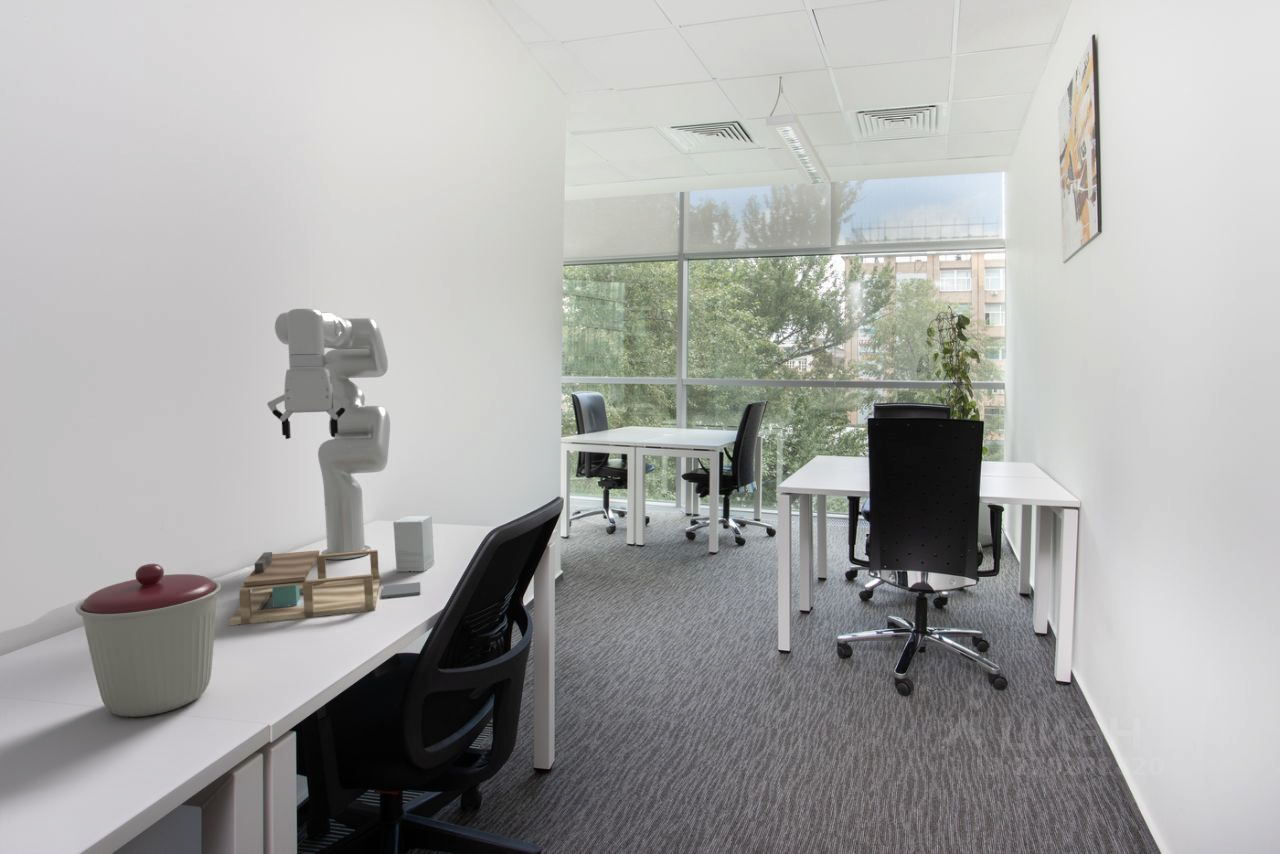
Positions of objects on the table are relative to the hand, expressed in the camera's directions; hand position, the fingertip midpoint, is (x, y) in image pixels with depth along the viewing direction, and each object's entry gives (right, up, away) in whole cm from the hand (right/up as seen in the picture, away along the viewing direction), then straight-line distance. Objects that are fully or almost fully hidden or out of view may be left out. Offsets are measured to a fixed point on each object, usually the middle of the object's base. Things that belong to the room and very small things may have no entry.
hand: (310, 437), depth 172 cm
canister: (+4, -39, -60) cm, 72 cm away
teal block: (0, -35, -12) cm, 37 cm away
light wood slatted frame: (+5, -35, -11) cm, 37 cm away
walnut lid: (0, -28, -13) cm, 31 cm away
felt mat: (+23, -34, -5) cm, 42 cm away
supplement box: (+20, -33, +15) cm, 41 cm away
